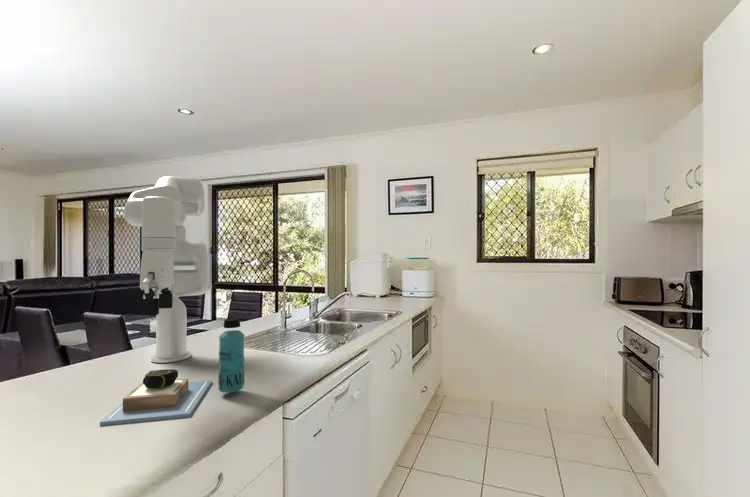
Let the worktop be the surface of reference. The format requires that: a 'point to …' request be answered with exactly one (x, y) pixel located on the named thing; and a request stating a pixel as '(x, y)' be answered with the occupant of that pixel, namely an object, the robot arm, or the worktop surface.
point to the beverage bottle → (231, 358)
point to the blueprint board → (161, 412)
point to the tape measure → (160, 378)
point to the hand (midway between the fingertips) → (158, 311)
